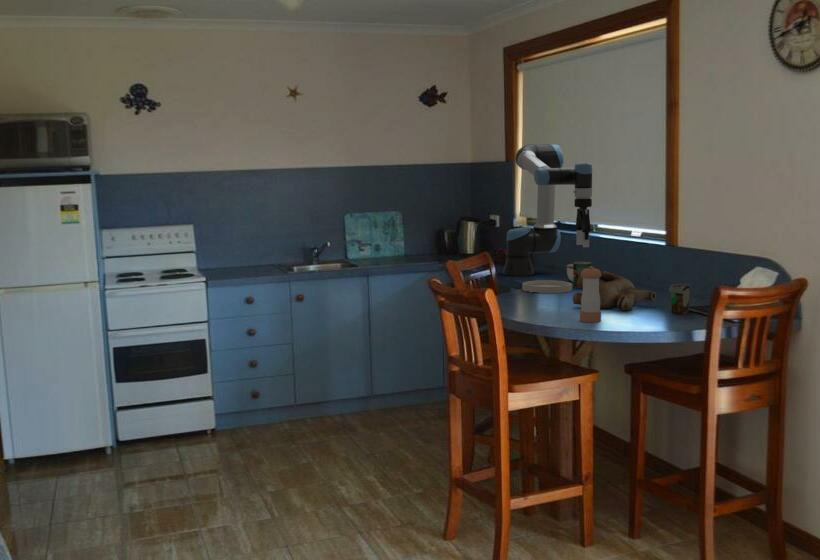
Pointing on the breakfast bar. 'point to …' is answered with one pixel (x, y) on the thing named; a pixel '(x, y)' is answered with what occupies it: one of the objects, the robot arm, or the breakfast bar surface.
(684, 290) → the food container
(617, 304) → the stuffed animal
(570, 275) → the lidded jar
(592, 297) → the pepper shaker
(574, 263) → the canned tomato
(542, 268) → the breakfast bar surface
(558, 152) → the robot arm
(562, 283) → the round tray
